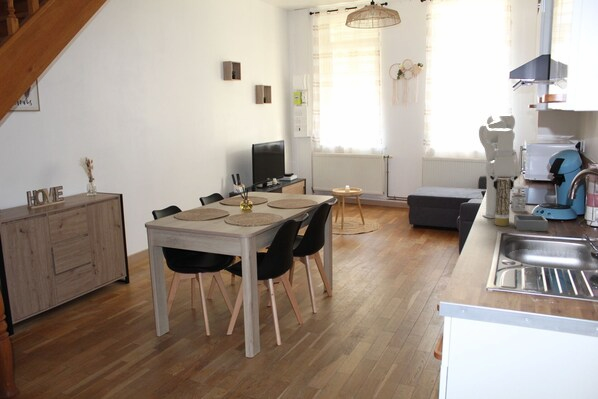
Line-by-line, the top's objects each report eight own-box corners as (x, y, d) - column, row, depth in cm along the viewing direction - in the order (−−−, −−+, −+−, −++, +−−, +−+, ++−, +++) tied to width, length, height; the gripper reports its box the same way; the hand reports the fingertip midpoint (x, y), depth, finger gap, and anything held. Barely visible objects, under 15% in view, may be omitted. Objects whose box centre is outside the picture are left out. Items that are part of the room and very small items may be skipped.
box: (513, 224, 257) (514, 214, 256) (542, 225, 253) (543, 215, 252) (517, 230, 244) (517, 220, 244) (547, 231, 240) (547, 221, 239)
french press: (530, 211, 290) (532, 168, 285) (510, 211, 290) (512, 169, 286) (522, 208, 299) (524, 167, 295) (503, 208, 300) (505, 167, 295)
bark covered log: (510, 226, 252) (512, 178, 248) (496, 226, 253) (498, 178, 249) (507, 223, 258) (509, 176, 254) (493, 223, 260) (495, 176, 256)
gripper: (522, 153, 251) (520, 188, 254) (486, 153, 256) (484, 187, 259) (524, 154, 244) (522, 190, 247) (487, 154, 249) (485, 189, 252)
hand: (503, 188), depth 253 cm, fingers closed on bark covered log, 6 cm apart
